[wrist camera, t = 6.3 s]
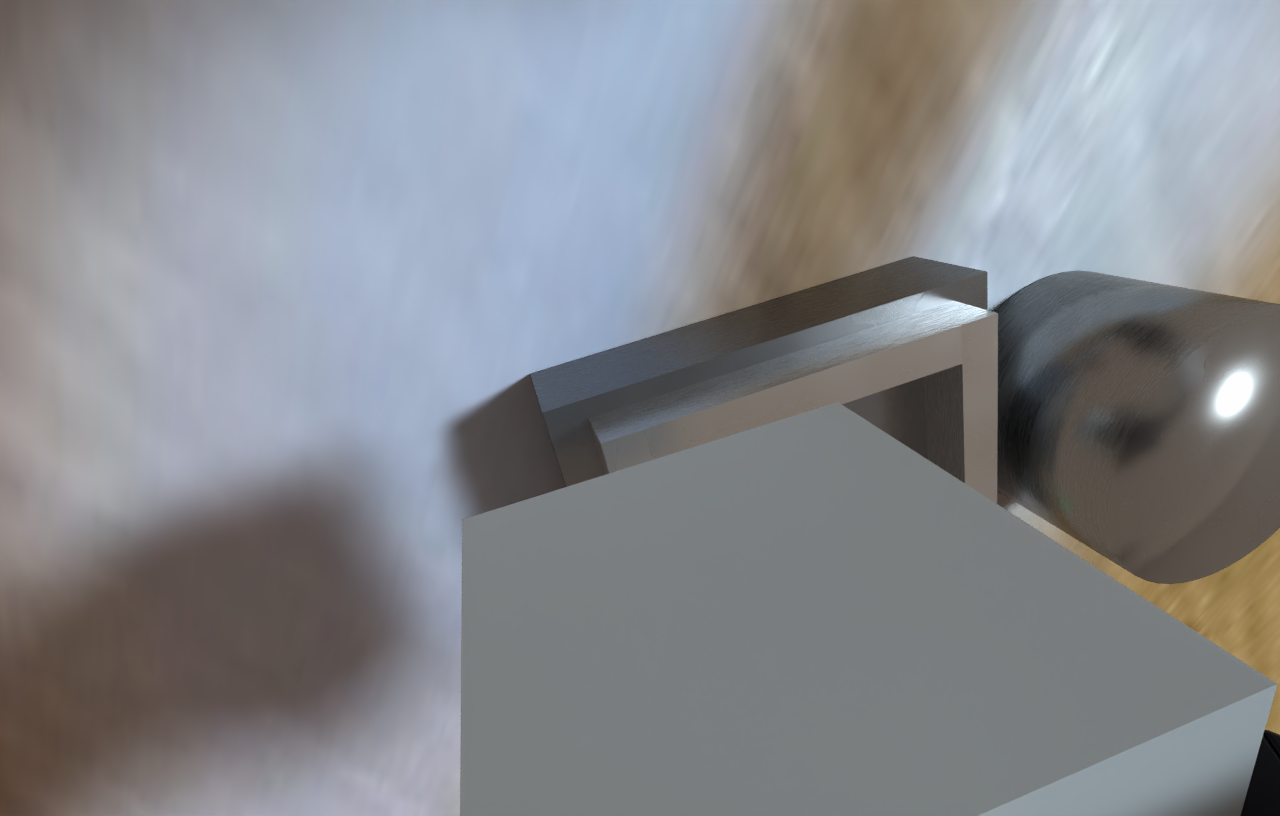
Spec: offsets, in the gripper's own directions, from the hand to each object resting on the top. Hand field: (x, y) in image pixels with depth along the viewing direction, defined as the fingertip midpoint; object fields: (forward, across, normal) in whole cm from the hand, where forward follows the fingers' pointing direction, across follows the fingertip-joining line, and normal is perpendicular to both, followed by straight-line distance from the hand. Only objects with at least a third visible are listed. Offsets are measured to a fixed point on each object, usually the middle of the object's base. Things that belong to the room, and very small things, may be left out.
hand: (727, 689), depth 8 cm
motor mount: (+11, -9, +4) cm, 15 cm away
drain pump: (+1, 0, 0) cm, 1 cm away
